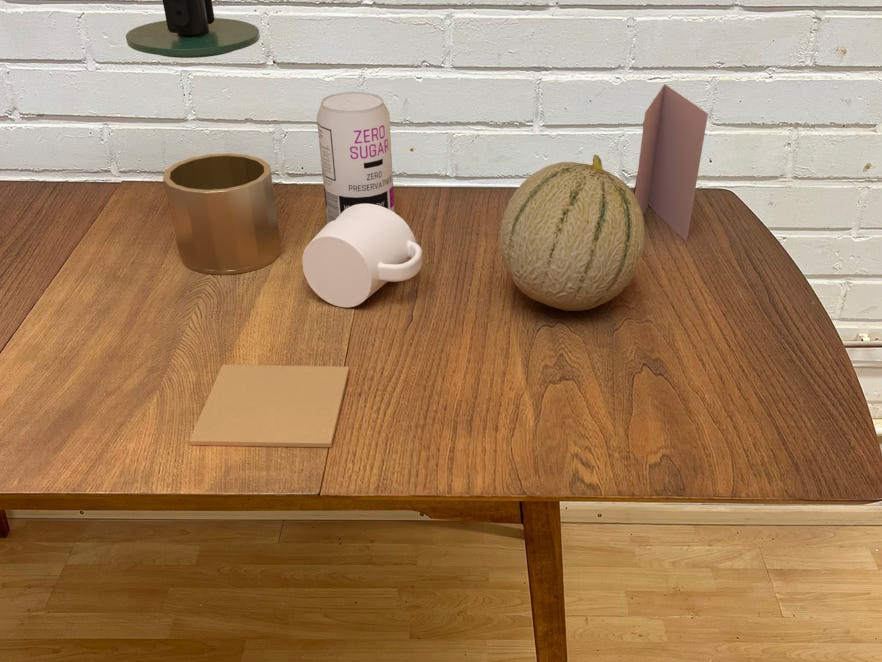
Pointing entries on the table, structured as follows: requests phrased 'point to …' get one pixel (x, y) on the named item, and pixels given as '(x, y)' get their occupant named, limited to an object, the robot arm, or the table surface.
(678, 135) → the greeting card
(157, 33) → the tin lid
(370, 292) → the mug
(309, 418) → the cork mat
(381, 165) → the supplement can
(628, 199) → the cantaloupe
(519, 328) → the table surface
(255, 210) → the tin
